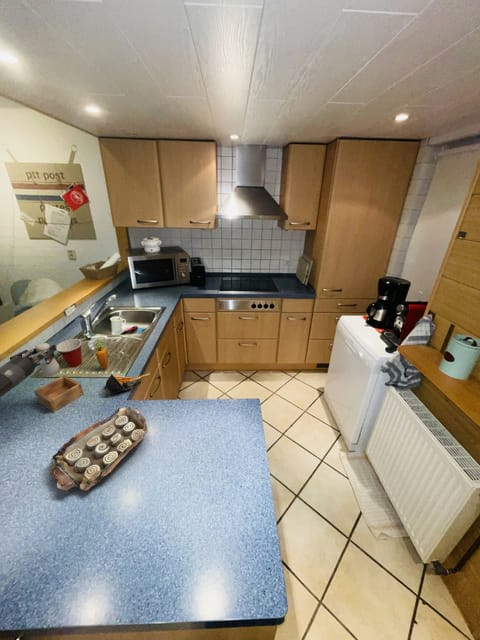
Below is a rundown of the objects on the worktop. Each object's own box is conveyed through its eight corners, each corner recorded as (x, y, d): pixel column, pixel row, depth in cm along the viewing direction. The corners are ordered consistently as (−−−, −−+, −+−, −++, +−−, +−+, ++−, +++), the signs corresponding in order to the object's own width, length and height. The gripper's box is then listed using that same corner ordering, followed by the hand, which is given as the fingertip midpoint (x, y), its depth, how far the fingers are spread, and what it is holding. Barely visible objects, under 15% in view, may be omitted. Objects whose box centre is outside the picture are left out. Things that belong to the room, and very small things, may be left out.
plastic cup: (58, 372, 122) (51, 351, 117) (67, 359, 131) (61, 339, 126) (83, 369, 124) (76, 348, 119) (90, 357, 134) (84, 337, 128)
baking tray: (81, 512, 67) (76, 500, 65) (38, 474, 76) (32, 462, 74) (162, 432, 91) (160, 421, 89) (122, 409, 100) (119, 399, 98)
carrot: (108, 372, 122) (102, 345, 116) (98, 372, 122) (90, 346, 116) (112, 366, 127) (106, 340, 120) (102, 366, 126) (95, 340, 120)
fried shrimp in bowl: (97, 381, 109) (133, 354, 118) (114, 399, 112) (147, 372, 121) (101, 385, 101) (138, 356, 110) (118, 404, 105) (153, 375, 114)
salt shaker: (63, 368, 102) (54, 340, 97) (56, 376, 97) (46, 348, 92) (47, 369, 101) (37, 341, 96) (39, 378, 96) (28, 349, 91)
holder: (54, 412, 99) (49, 401, 96) (38, 401, 104) (33, 391, 101) (84, 394, 108) (80, 384, 106) (67, 385, 113) (64, 375, 111)
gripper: (30, 364, 80) (64, 338, 96) (-15, 363, 80) (27, 337, 96) (38, 382, 83) (69, 355, 99) (-5, 382, 83) (33, 354, 99)
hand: (48, 346), depth 97 cm, fingers closed on salt shaker, 4 cm apart
